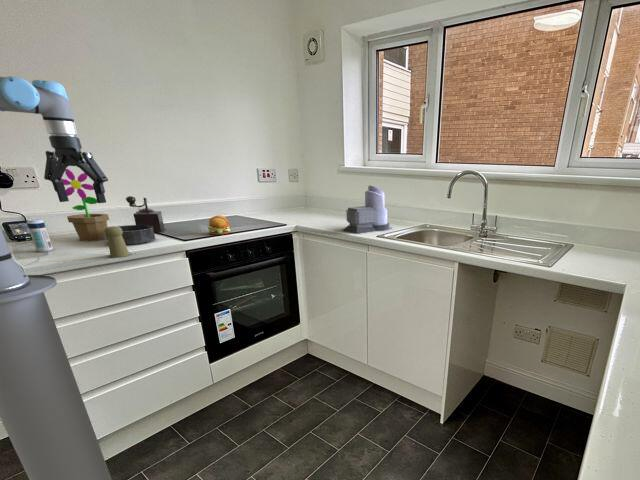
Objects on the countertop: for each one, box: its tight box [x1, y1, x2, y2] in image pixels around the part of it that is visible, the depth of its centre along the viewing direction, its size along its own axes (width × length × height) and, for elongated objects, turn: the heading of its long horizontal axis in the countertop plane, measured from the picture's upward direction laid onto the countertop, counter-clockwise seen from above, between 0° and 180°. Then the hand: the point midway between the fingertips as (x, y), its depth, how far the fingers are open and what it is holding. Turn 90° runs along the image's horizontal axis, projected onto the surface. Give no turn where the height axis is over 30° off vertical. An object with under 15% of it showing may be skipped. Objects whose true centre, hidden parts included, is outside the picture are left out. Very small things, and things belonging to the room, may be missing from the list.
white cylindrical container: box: [26, 218, 54, 253], centre depth 135 cm, size 5×5×12 cm
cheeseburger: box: [207, 214, 231, 236], centre depth 178 cm, size 10×11×10 cm
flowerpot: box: [61, 168, 110, 242], centre depth 154 cm, size 14×14×30 cm
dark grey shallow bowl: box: [104, 224, 156, 246], centre depth 155 cm, size 17×17×6 cm
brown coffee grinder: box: [125, 195, 166, 234], centre depth 174 cm, size 16×11×18 cm
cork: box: [105, 226, 130, 258], centre depth 132 cm, size 6×6×11 cm
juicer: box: [342, 184, 392, 235], centre depth 200 cm, size 30×16×24 cm, turn 139°
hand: (83, 202), depth 123 cm, fingers open, 13 cm apart
